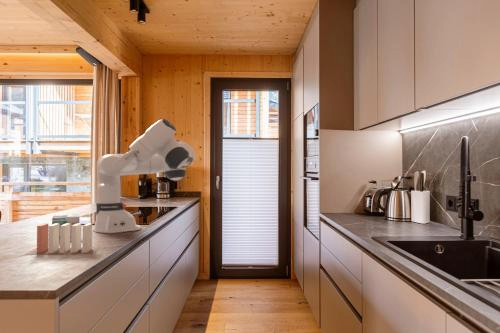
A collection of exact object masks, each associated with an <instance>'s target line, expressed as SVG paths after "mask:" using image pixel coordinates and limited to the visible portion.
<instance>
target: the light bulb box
mask: <svg viewBox="0 0 500 333" xmlns="http://www.w3.org/2000/svg"><path fill="white" fill-rule="evenodd" d="M55 223H60V225H59V241H60V226H61V225H63V224H66V223H71V224H70V240H71V231H72V225H75V224H77V223H80V214H79V213H78V214H61V215H60V214H59V215H58V214H57V215H52V218H51V225H52V224H55Z"/></svg>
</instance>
